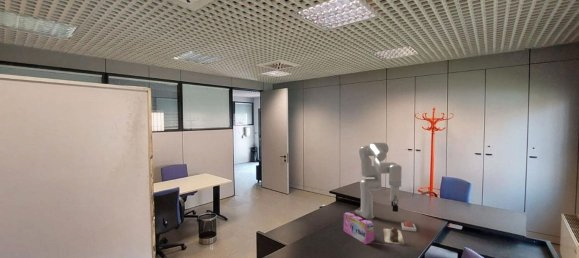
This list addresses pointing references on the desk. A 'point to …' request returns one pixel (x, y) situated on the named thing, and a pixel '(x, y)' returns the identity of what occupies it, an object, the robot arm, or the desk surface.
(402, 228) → the popper base
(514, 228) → the desk surface
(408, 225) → the red dome
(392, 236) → the pawn
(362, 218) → the pink printed package
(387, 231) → the track board
